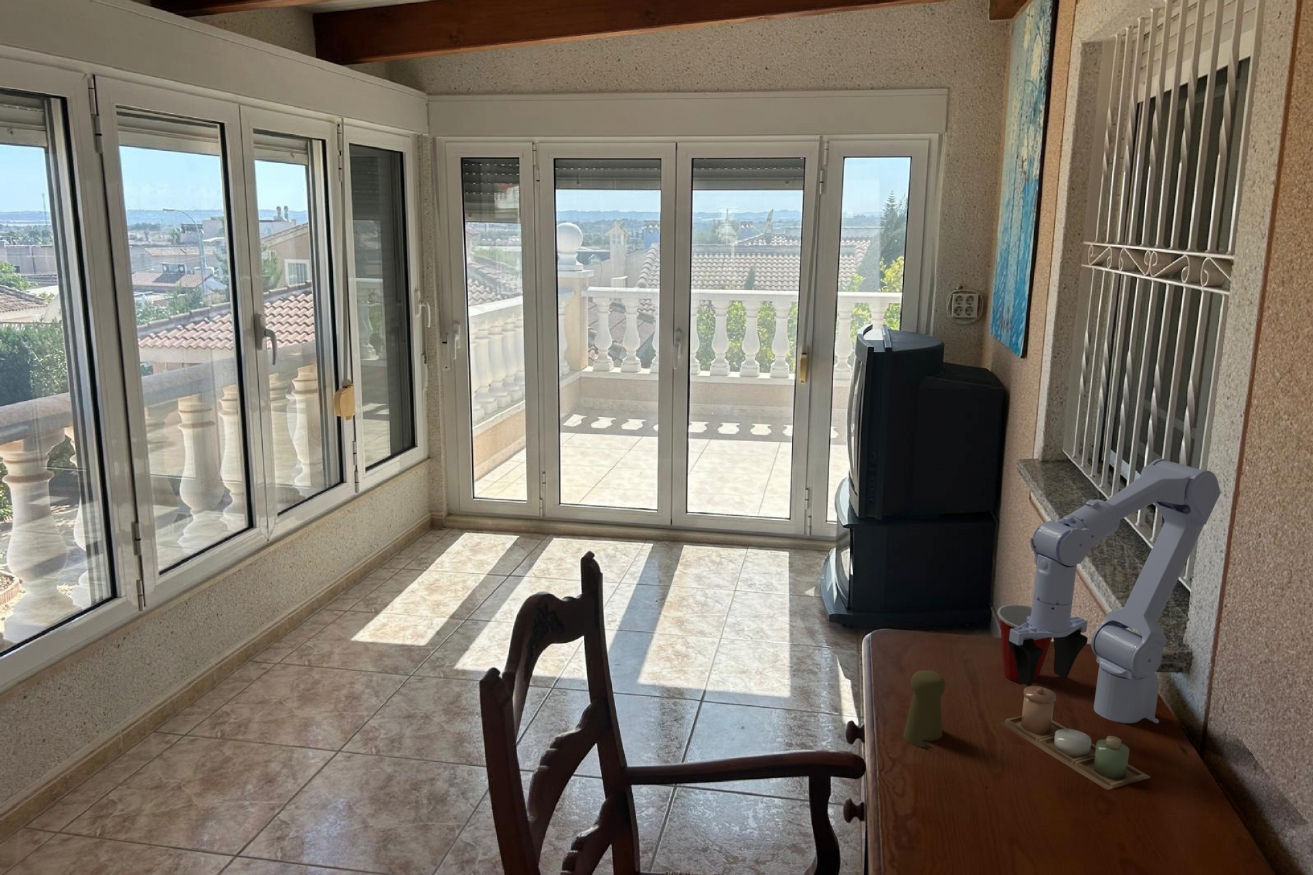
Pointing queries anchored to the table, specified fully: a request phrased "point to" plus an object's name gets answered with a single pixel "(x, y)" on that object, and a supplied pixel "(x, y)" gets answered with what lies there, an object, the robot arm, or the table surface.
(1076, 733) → the white rounded disc
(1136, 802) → the table surface
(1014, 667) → the plastic cup
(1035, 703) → the spice jar
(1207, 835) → the table surface
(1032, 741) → the tray
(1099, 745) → the green jar
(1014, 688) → the table surface
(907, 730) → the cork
